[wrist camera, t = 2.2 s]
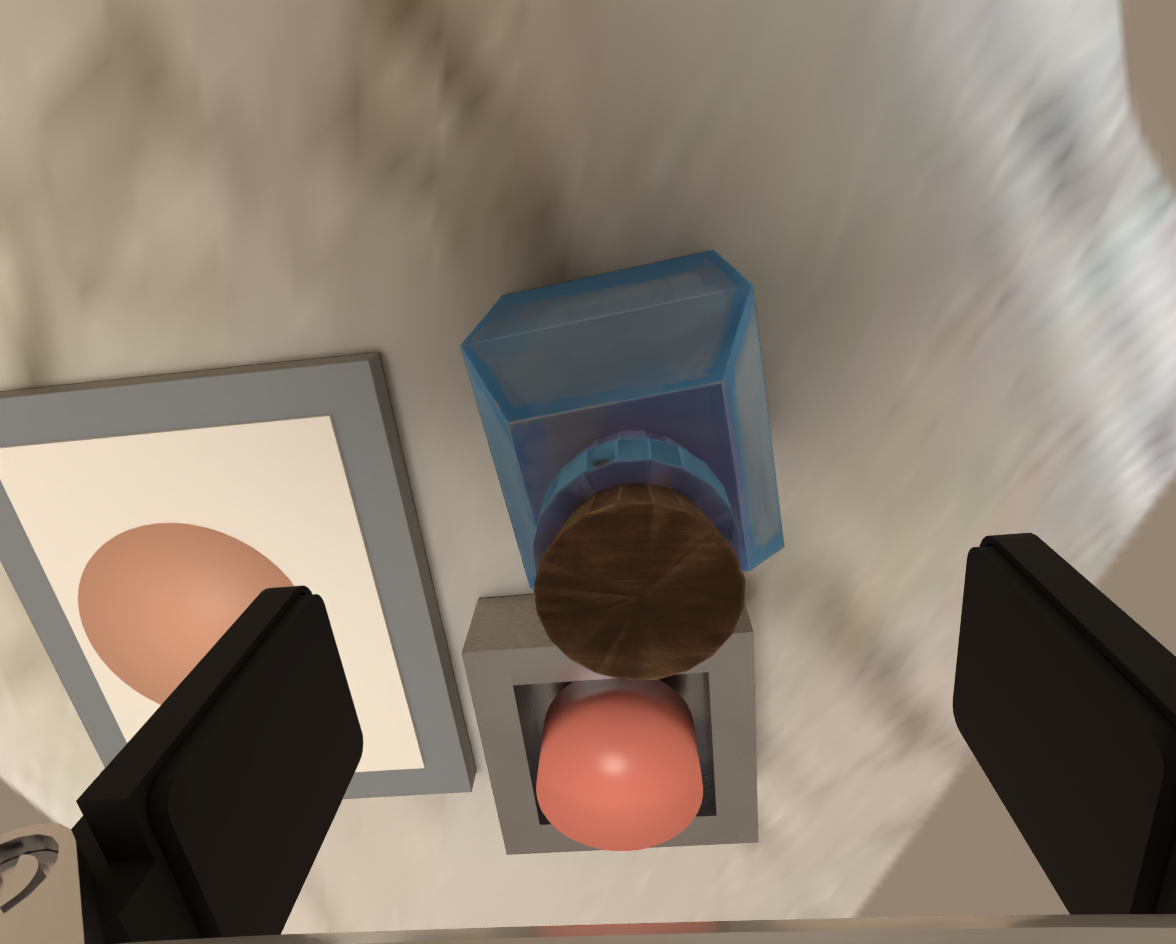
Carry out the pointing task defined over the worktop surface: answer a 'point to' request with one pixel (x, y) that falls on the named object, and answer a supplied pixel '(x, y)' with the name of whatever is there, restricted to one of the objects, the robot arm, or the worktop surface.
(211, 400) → the board
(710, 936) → the robot arm
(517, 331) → the perfume bottle
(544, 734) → the button
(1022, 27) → the worktop surface
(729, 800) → the button base
